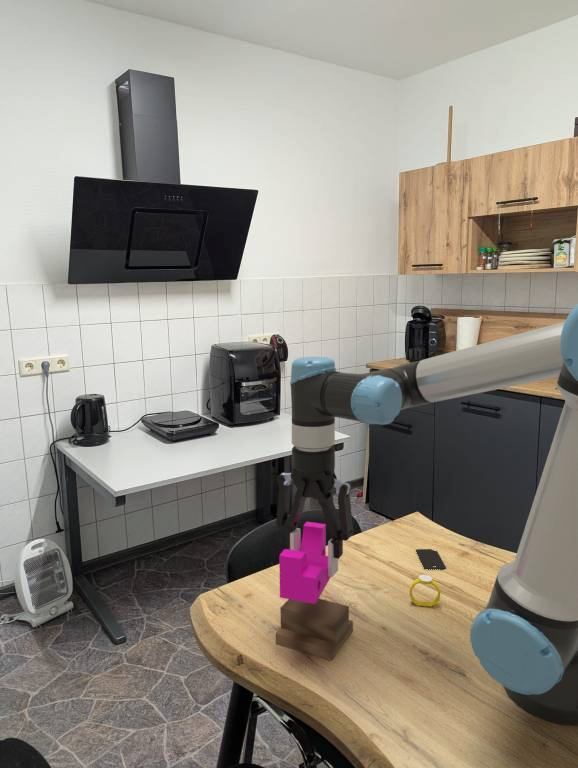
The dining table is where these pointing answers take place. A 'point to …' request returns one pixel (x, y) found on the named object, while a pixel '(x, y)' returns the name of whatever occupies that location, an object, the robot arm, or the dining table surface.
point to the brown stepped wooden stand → (314, 627)
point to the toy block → (305, 566)
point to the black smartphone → (430, 559)
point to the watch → (425, 580)
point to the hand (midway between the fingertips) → (314, 568)
